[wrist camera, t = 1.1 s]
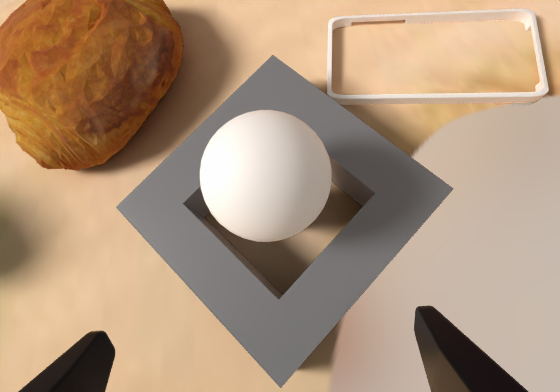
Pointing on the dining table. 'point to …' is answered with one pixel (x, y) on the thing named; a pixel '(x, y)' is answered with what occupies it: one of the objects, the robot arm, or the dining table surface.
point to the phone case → (447, 98)
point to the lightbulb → (265, 175)
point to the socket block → (334, 258)
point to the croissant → (84, 75)
